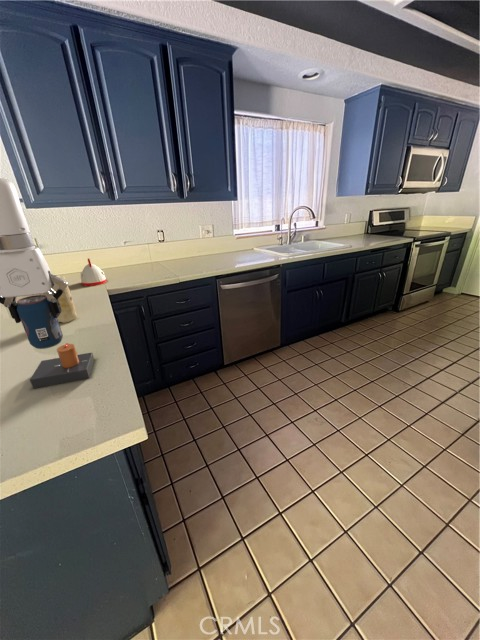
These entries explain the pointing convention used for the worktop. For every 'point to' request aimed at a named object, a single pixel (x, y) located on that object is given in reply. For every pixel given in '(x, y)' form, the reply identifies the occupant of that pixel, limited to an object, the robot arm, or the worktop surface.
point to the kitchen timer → (92, 275)
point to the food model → (65, 304)
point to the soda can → (39, 322)
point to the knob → (68, 355)
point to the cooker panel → (61, 371)
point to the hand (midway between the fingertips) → (39, 317)
